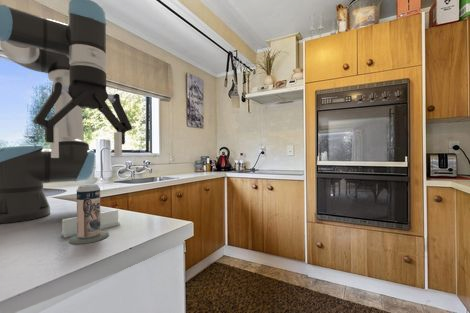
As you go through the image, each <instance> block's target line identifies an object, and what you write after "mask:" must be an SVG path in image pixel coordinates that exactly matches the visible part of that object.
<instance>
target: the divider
mask: <svg viewBox="0 0 470 313" xmlns="http://www.w3.org/2000/svg"><path fill="white" fill-rule="evenodd" d="M100 221H101V230H103V229H107V228H111V227H116V226H119V225H121V223H120V222H119V210H118V209H112V210H106V211H100ZM61 229H62V232H60V235H61V236H62V237H63V238H68V237H69V238H71V237H72V236H75V235H77V216H74V217H68V218H63V219H62V220H61Z"/></svg>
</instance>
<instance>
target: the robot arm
mask: <svg viewBox="0 0 470 313" xmlns="http://www.w3.org/2000/svg"><path fill="white" fill-rule="evenodd" d="M67 14H68V23H67V24H66V23H63V22H60V21H56V20H53V19H50V18H46V17H43V16H40V15H36V14H33V13H30V12H26V11H23V10H20V9H16V8H13V7H10V6H8V5H5V4H0V47H1V50H2V52H3V53H4V55H5V56H6V57H7V58H9V60H11V61H12V62H14V63H15V64H17V65H19V66H22V67H24V68H25V69H28V70H31V71H34V72H35V71H36V72H39V73H44V74H47V78H48V79H49V81H51V82H52V83H53V84H52V86H51V93H50V95H49V96H48V98H47V99H46V101H45V102H44V104H43V105H42V107H41V108H40V109H39V111H38V113H37V114H36V116H35V117H34V119H33V121H32V122H33V123H34V124H35V125H39V126H41V127H43V128H44V141H45V142H46V143H50V148H44V146H43V145H42V144H26V145H17V146H7V147H1V148H0V224H6V223H7V224H9V223H17V222H24V221H29V220H34V219H38V218H43V217H46V216H48V215H51V206H50V204H49V202H48V198H47V196H46V195H45V193H44V192H45V191H44V184H51V183H62V182H63V183H64V182H79V181H85V180H89V179H90V178H91V176H92V174H93V173H94V168H95V160H96V159H95V158H96V157H95V156H96V154H95V150H94V149H92V148H90V144H89V143H88V142H86V141H85V138H84V125H83V124H84V122H83V109H86V108H87V109H89V110H96V109H97V111H99V112H100V113H101V114H102V115H103V116H104V117H105V118H106V120H107V121H108V122H109V123H110V124H111V126H112V127H113V128H114V129H115V131H116V132H113V139H114V140H113V147H114V148H113V150H114V151H113V152H114V155H113V157H114V158H123V145H125V143H126V132H129V131H132V130H133V126H132V124H131V122H130V119H129V118H128V116H127V113H126V111H125V110H124V108H123V105H122V103H121V98H120V97H121V96H120V94H118V93H114V94H111V93H108V92H107V73H106V72H105V71H106V70H107V51H106V50H107V45H106V44H107V39H106V38H107V35H106V34H107V32H106V31H107V29H106V28H107V22H106V12H105V10H104V8H103V7H102V6H101V5H100V4H98V3H97V2H95V1H93V0H70V1H69V3H68V10H67ZM107 100H108V101H109V103H111V105H112V108H113V111H114V112H115V114H114V112H113V111H111V108H110V106H109V105H108V103H106V101H107ZM53 108H54V115H52V116H51V117H50V118H49V119H48V120H47V119H46V118H47V117H48V115H49V114H50V112H51V111H52V110H53Z"/></svg>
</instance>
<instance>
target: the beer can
mask: <svg viewBox="0 0 470 313" xmlns="http://www.w3.org/2000/svg"><path fill="white" fill-rule="evenodd" d="M100 212H101V188H100V186H99V185H98V184H83V185H79V186H78V188H77V189H76V217H77V237H80V238H82V239H87V238H93V237H96V236H97V235H99V234H100V233H101V231H102V229H101V221H100Z"/></svg>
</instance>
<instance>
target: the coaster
mask: <svg viewBox="0 0 470 313" xmlns="http://www.w3.org/2000/svg"><path fill="white" fill-rule="evenodd" d="M108 237H109V232H108V231H107V230H101V233H100V234H99V235H97V236H96V237H93V238H87V239H82V238H80V237H77V235H74V236H70V237H69V238H68V243H70V244H71V245H72V244H73V245H85V244H92V243H95V242H98V241H103V240H105V239H106V238H108Z"/></svg>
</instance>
